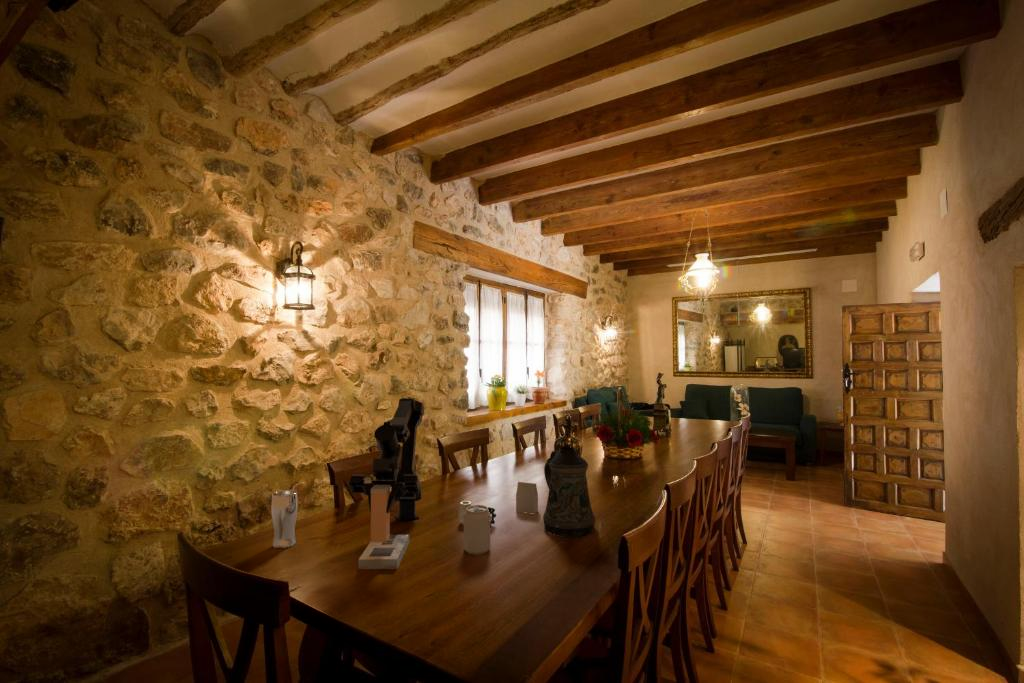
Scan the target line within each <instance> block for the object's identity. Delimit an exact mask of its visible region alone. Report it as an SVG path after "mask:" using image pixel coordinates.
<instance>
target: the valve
mask: <svg viewBox="0 0 1024 683" xmlns="http://www.w3.org/2000/svg"><path fill="white" fill-rule="evenodd" d="M469 506H472V502H471V501H469V500H463V501H461V502H460V503H459V511H458V512H459V521H460V522H459V524H460V523H462V524H461V525H464V513H465V512H466V511H467V510H466V508H467V507H469ZM487 507H488V506H487ZM488 511H489V512H490V529H492V525H495V523H496V520H494V519H495V518H496V517H497V513H495V511H496V509H495V508H493V507H490V506H489V507H488Z"/></svg>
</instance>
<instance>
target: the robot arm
mask: <svg viewBox="0 0 1024 683" xmlns="http://www.w3.org/2000/svg"><path fill="white" fill-rule="evenodd" d="M424 416H425V405H424V403H423V402H421V401H418V400H416V399H415V398H414V397H401V398H399V401H398V404H397V407H396V411H395V413H394V415H393V417H392V418H391V419H389V420H387V421H384V422H383V424H382V425H380V426H378V427H376V430H374V433H373V434H374V435H373V436H374V439H375V441H376V444H377V447H378V449H379V450H378V451H380V455H379V458H373V459H372V464H371V472H373V474H372V476H373V477H374V478H375V479H373V478H371V477H369V478H368V477H366V474H352V475H350V476H349V478H348V482H347V484H348V486H349V487H350V490H351V492H352V493H354V494H364V495H365V496H367V499H368V507H369V514H371V488H372V487H373V486H374V485H390V497H389V501H388V505H387V511H386V512H387V513H389V512H391V510H392V509H393V508H394V506H395V504H396V503H397V502H398V503H397V504H398V509H397V514H394V517H395V518H396V519H398V521H399V522H407V521H412V520H417V518H418V519H420V515H418V514H417V513H416V510H417V509H416V505H417V504H416V502H419V501H420V500H422V488H421V484H420V479H419V476H418V475H417V473H416V471H415V461H416V460H415V458H416V444H417V433H418V431H417V430H418V427H419V426H420V424H421V423H422V421H423V417H424ZM401 444H402V445H401Z"/></svg>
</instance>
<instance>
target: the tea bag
mask: <svg viewBox="0 0 1024 683" xmlns="http://www.w3.org/2000/svg"><path fill="white" fill-rule="evenodd" d="M516 487H517V488H516V492H515V512H516V511H521V512H527V513H526V514H528V513H533V514H532V515H535V514H536V513H537V512H539V491H538V487H537V483H533V482H523V481H517V486H516ZM521 512H520V513H521ZM534 513H535V514H534Z"/></svg>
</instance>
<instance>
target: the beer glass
mask: <svg viewBox="0 0 1024 683" xmlns="http://www.w3.org/2000/svg"><path fill="white" fill-rule="evenodd" d="M298 503H299V501H298V491H297V490H295V489H283V490H277V491H275V492H273V493H272V495H271V519H272V520H271V521H272V524H273V531H274V532H273V533H274V534H273V535H274V536H273V541H272V548H274V547H275V548H274V549H276V548H284V549H288V548H290V546H291V547H293V546H295V545H296V544H295V543H297V540H296V535H295V530H296V529H295V528H296V522H297V516H298V509H299V508H298V507H299V504H298ZM294 544H295V545H294ZM287 547H288V548H287Z"/></svg>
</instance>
